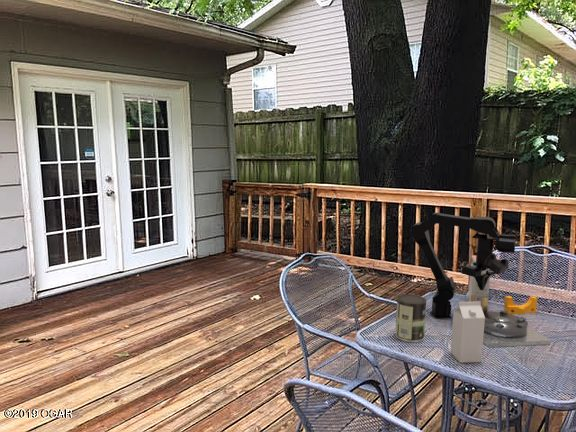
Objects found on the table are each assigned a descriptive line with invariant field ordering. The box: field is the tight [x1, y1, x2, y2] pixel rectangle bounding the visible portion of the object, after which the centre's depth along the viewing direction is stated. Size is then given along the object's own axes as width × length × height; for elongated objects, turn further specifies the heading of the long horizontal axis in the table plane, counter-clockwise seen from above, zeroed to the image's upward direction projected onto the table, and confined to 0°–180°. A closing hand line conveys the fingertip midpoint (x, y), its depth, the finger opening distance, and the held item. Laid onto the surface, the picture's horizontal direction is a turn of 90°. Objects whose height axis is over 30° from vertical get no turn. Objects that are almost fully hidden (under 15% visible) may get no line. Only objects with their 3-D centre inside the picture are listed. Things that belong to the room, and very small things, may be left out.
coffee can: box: [394, 293, 428, 343], centre depth 169 cm, size 10×10×14 cm
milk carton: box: [450, 301, 485, 363], centre depth 153 cm, size 7×7×19 cm
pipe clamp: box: [503, 295, 538, 315], centre depth 195 cm, size 12×4×6 cm, turn 90°
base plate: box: [483, 325, 551, 348], centre depth 175 cm, size 23×23×4 cm
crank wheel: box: [482, 296, 529, 337], centre depth 174 cm, size 17×17×9 cm
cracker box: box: [467, 254, 491, 308], centre depth 199 cm, size 14×6×21 cm, turn 167°
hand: (481, 290), depth 182 cm, fingers closed
